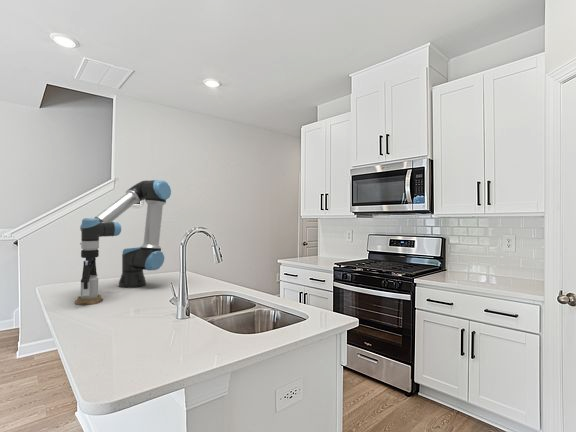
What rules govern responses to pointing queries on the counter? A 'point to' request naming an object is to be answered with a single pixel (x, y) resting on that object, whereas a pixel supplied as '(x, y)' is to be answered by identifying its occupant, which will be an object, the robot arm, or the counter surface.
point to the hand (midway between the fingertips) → (89, 292)
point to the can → (91, 288)
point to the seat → (88, 300)
